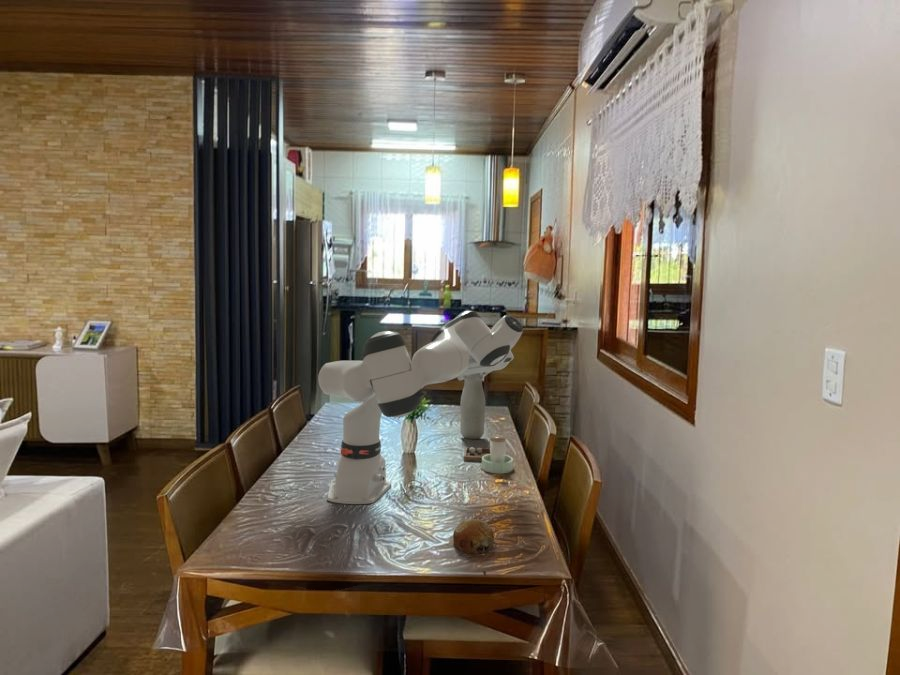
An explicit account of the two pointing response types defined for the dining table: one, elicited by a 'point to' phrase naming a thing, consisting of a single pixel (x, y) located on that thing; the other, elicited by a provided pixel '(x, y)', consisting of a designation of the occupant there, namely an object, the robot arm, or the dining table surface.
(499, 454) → the jar
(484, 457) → the bowl
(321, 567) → the dining table surface
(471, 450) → the pebble
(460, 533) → the bread roll
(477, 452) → the pebble
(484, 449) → the pebble tray
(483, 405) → the grey bottle
